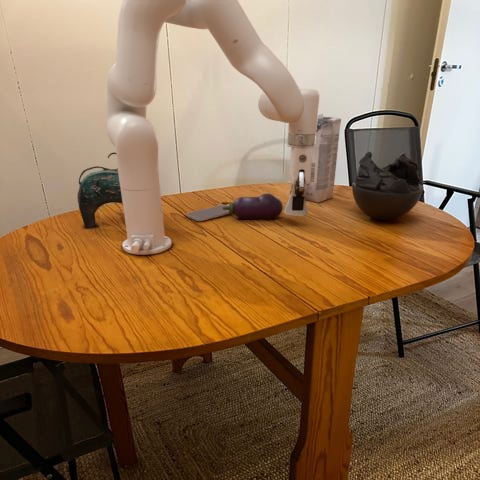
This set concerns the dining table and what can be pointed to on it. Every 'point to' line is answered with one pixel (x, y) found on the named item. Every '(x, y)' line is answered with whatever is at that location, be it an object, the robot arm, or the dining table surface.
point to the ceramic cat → (98, 192)
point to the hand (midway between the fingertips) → (296, 206)
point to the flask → (288, 207)
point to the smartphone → (208, 213)
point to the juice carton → (323, 160)
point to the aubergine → (255, 207)
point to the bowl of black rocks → (387, 187)
